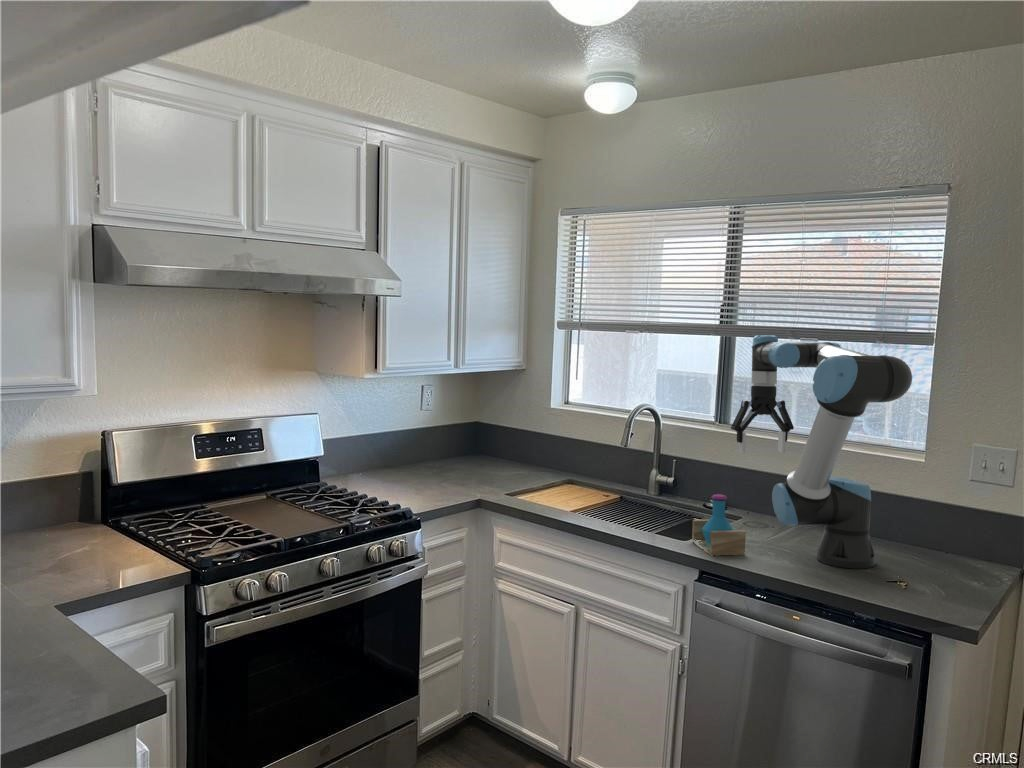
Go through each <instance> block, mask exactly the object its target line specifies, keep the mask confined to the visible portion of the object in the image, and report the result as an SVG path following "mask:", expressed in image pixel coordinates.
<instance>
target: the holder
mask: <svg viewBox="0 0 1024 768" xmlns="http://www.w3.org/2000/svg"><path fill="white" fill-rule="evenodd" d="M709 519H710V518H708V519H707V518H706V519H692V526H691V527H692V529H691V533H692V534H691V535H692V536H691V540H695V539H696V540H701V541H699V542H698V543H699V545H701V546H702V547H703V548H704V549H705V550H706V551H707V552H708V553H710V554H711V555H733V556H745V553H746V537H747V534H746V533H747V531H746V530H744V529H739V530H738V529H736V530H735V529H733V530H730V531H711V533H710V547H709V546H707V545H706V543H707V541H706V540H705V537H704V535H703V532H702V528H703V527H704V525H705V524H706V523H707V522H708V521H709ZM696 540H695V541H696ZM701 542H702V543H701ZM708 553H707V554H708ZM711 555H710V556H711Z"/></svg>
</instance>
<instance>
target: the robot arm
mask: <svg viewBox="0 0 1024 768" xmlns="http://www.w3.org/2000/svg"><path fill="white" fill-rule="evenodd" d="M751 350H752V351H751V381H750V382H751V384H752V385H751V386H750V397H751V399H750V400H745V399H743V400H741V405H740V408H739V409H738V412H737V414H736V416H735V419H734V420H733V422H732V423H731V426H730V429H731V430H733V431H735V432H736V442H737V443H738V453H740V454H745V455H746V442H747V441H746V440H747V439H746V438H747V436H746V435H747V434H746V432H745V430H746V429H747V427H749V425H750V424H751V423H752V421H753V420H754V419H755V417H757V416H763V415H766V416H770V417H771V418H772V420H773V421H774V423H775V424H776V425H777V426H778V429H780V430H779V431H778V433H777V434H778V435H777V436H778V437H777V442H778V443H777V452H778V453H782V454H784V453H786V442H788V434H789V433H790V432H791V430H794V428H795V427H794V425H793V422H792V420H791V417H790V414H789V413H788V411H787V410H788V409H787V408H786V400H782V399H778V400H776V399H777V386H776V385H777V384H778V383H777V382H778V381H777V379H778V368H780V369H783V368H784V369H789V368H815V371H814V373H813V377H812V381H813V383H812V391H813V394H814V396H815V398H816V402H817V403H818V405H819V408H818V411H817V413H816V415H815V418H814V421H813V424H812V427H811V430H810V432H809V434H808V438H807V440H806V443H805V445H804V448H803V451H802V454H801V457H800V459H799V460H798V464H797V467H796V469H795V470H792V471H791V472H789V473H788V475H787V477H786V480H785V482H784V483H782V482H779V483H776V484H775V485H774V486H773V488H772V493H771V501H772V507H773V510H774V514H775V517H776V518H777V519H778V521H779V522H780V523H781V524H782V525H785V526H792V527H793V526H794V527H803V526H824V528H823V534H822V536H821V539H820V541H819V544H818V547H817V549H816V560H818V561H820V562H822V563H824V564H826V565H829V566H834V567H837V568H844V569H857V570H858V569H870V568H873V567H875V566H876V555H875V550H874V548H873V545H872V541H871V538H870V527H871V526H870V524H871V502H872V493H871V487H870V486H869V485H868V484H867V483H865V482H862V481H858V480H853V479H849V478H843V477H836V476H835V477H834V476H831V475H832V473H833V471H834V469H835V466H836V464H837V461H838V459H839V457H840V454H841V452H842V449H843V446H844V445H845V442H846V439H847V437H848V434H849V432H850V430H851V427H852V425H853V422H854V420H855V419H856V418H859V417H861V416H862V415H863V414H864V412H865V411H866V408H867V405H868V404H869V403H888V402H893V401H895V400H898V399H900V398H902V397H903V396H904V395H905V394H906V393H907V392H908V391H909V389H910V388H911V385H912V381H913V374H912V369H911V368H910V366H909V365H908V364H907V362H905V361H904V360H903V359H901V358H898V357H897V356H896V357H895V356H890V355H885V354H882V355H881V354H880V355H869V354H867V353H863V352H859V351H856V350H852V349H848V348H843V346H841V345H840V344H839V343H836V342H831V341H824V342H803V341H799V342H797V341H790V342H789V341H779V338H778V336H776V335H754V337H753V338H752V344H751ZM750 407H751V409H749V408H750ZM776 407H777V410H778V411H779V414H780V416H779V414H778V412H777V410H776V409H775V408H776ZM748 410H749V411H748ZM747 411H748V413H747ZM746 414H747V415H746Z"/></svg>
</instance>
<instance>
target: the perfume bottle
mask: <svg viewBox="0 0 1024 768" xmlns="http://www.w3.org/2000/svg"><path fill="white" fill-rule="evenodd" d="M710 498H711V499H712V515H711V517H710V518H708V519H709V521H708V522H707V523H706V524H705V525H704V527H703V528H702V532H703V535H704V537H705V540H706V541H707V543H706V545H707V546H709V547H710V533H711V531H730V530H734V528H733V526H732V525H731V523H730V522H729V521H728V519H727V517H726V502H727V499H728V497H727V496H726V494H725V495H724V494H720V493H717V494H713V495H711V497H710Z"/></svg>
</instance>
